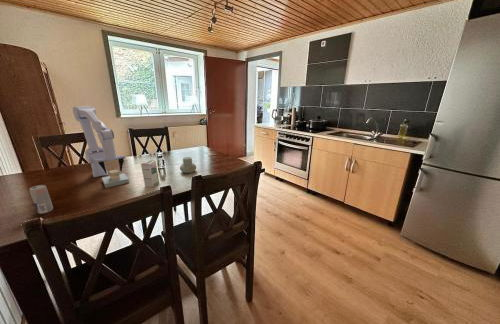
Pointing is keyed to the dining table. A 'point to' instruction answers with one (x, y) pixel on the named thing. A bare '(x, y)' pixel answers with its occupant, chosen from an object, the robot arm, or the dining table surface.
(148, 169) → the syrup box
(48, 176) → the dining table surface
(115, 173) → the birch cube
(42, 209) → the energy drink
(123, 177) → the grey-blue block
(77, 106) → the robot arm
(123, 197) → the dining table surface
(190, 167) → the air freshener
